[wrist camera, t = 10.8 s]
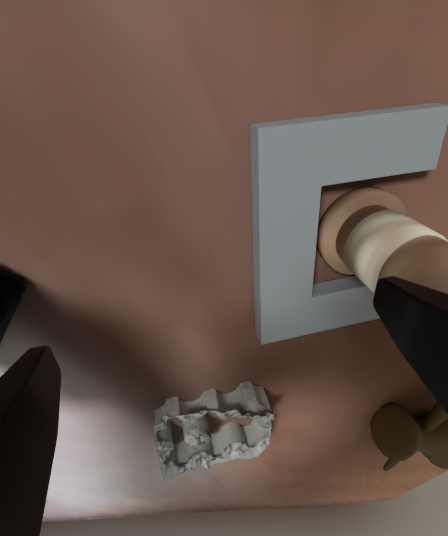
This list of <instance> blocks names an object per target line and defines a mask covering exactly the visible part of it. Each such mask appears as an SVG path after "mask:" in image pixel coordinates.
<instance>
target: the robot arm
mask: <svg viewBox="0 0 448 536" xmlns="http://www.w3.org/2000/svg"><path fill="white" fill-rule="evenodd" d="M13 283H18V284H20V286H19V287H18V286H15V285H14V284H13ZM26 286H27V282H26V280H25V279H24V278H22V277H20V276H17V275H14V274H11V273H8V272H5V271H2V270H0V342H1V340H2V338H3V335H4V333H5V331H6V329H7V327H8V325H9V323H10V321H11V318H12V316H13V314H14V312H15V310H16V308H17V306H18V303H19V301H20V299H21V297H22V295H23V293H24V291H25V288H26ZM373 306H374V309H375V311H376V312H377V314H378V316H379V317H380V319H381V321H382V322H383V324H384V326H385V327H386V329H387V331H388V332H389V334H390V336H391V337H392V339H393V340H394V342H395V344H396V345H397V347H398V349H399V350H400V352H401V353H402V354H403V356H404V357H405V359H406V360H407V361H408V363H409V364H410V365H411V367H412V368H413V369H414V371H415V372H416V373H417V375H418V376H419V377H420V379H421V380H422V381H423V383H424V384H425V385H426V387H427V388H428V389H429V391H430V392H431V393H432V395H433V396H434V397H435V399H436V400H437V401H438V403H439V404H440V405H441V407H442V408H443V409H444V411H445V412H446V413H447V415H448V294H447V293H444V292H441V291H438V290H435V289H432V288H429V287H426V286H423V285H420V284H417V283H414V282H411V281H408V280H405V279H402V278H399V277H396V276H387V277H382V278H380V279H378V281H377V283H376V288H375V293H374V298H373ZM60 387H61V371H60V368H59V365H58V363H57V361H56V359H55V357H54V355H53V353H52V351H51V349H50V347H49V346H46V345H44V346H39V347H34V348H31V349H29V350H28V351H26V352H25V353H24V354H23V355H22V356H21V357H20V358H19V359H18V360H17V361H16V362H15V363H14V364H13V365H12V366H11V367H10V368H9V369H8V370H7V371H6V372H5V373H4V374H3V375H2V376H1V377H0V536H39V535H40V530H41V524H42V519H43V513H44V508H45V502H46V497H47V491H48V485H49V480H50V474H51V469H52V463H53V458H54V452H55V447H56V440H57V433H58V420H59V403H60Z"/></svg>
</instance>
